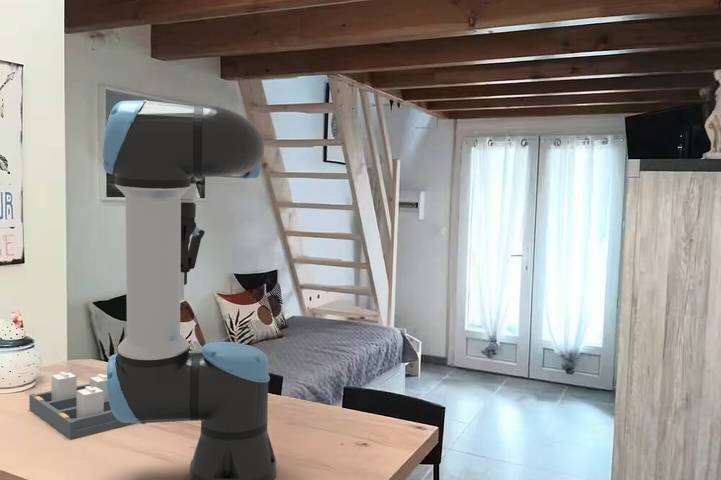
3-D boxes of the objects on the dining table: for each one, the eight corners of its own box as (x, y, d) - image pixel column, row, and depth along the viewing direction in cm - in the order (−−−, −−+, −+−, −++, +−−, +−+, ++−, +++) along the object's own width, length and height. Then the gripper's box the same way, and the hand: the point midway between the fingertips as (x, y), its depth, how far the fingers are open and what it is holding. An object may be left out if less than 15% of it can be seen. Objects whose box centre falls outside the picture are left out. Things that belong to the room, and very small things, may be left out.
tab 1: (103, 418, 130) (103, 388, 130) (84, 423, 127) (84, 392, 127) (95, 413, 133) (95, 383, 132) (76, 418, 130) (76, 387, 129)
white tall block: (114, 404, 139) (115, 375, 139) (97, 408, 136) (97, 379, 136) (107, 400, 142) (107, 372, 141) (89, 403, 139) (89, 375, 138)
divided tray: (141, 421, 134) (141, 405, 133) (70, 439, 123) (70, 421, 123) (95, 395, 149) (95, 380, 149) (29, 409, 139) (29, 393, 138)
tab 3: (76, 402, 140) (76, 373, 139) (58, 406, 137) (58, 376, 136) (69, 397, 142) (69, 369, 142) (51, 401, 140) (51, 372, 139)
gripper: (195, 201, 154) (193, 294, 156) (146, 200, 145) (145, 299, 147) (211, 202, 149) (210, 298, 151) (162, 201, 140) (161, 303, 141)
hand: (178, 298), depth 149 cm, fingers closed
